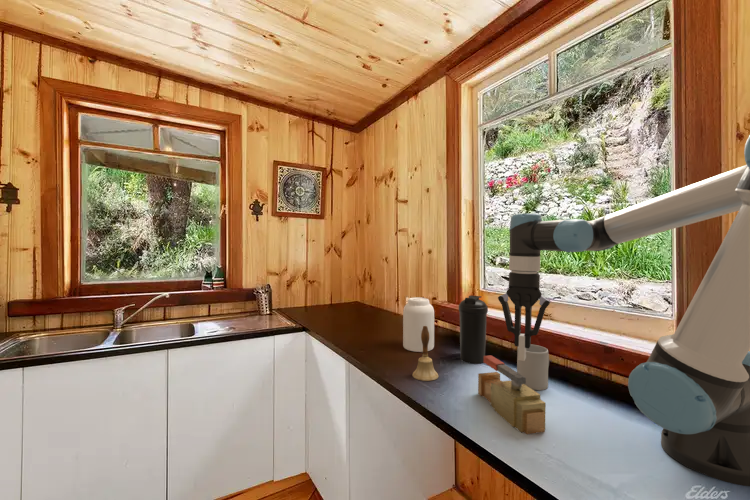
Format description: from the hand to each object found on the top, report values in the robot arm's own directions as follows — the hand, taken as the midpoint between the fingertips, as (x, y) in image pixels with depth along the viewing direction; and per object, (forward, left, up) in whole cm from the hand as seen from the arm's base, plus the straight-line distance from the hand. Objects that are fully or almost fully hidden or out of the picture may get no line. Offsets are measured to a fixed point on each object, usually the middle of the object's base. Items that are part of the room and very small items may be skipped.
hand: (522, 358), depth 89 cm
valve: (-4, +7, -11) cm, 14 cm away
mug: (+9, -11, -12) cm, 19 cm away
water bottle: (+31, -2, -12) cm, 33 cm away
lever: (-1, +7, -4) cm, 8 cm away
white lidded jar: (+48, +12, -12) cm, 51 cm away
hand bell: (+21, +20, -12) cm, 31 cm away
